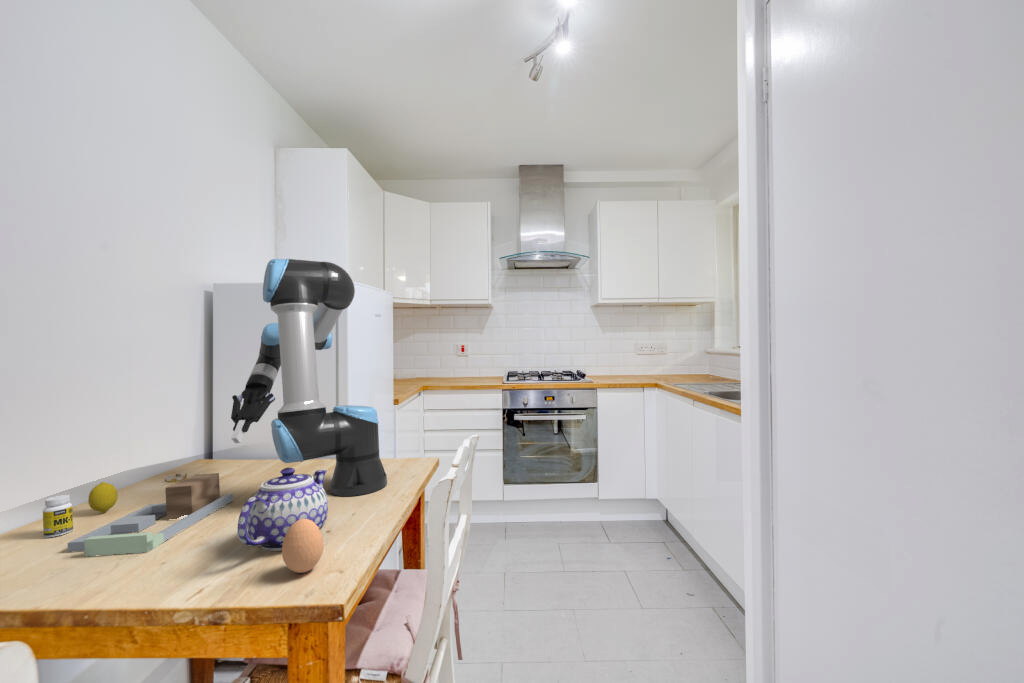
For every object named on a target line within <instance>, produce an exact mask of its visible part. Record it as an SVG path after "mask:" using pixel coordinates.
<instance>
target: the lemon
mask: <svg viewBox="0 0 1024 683" xmlns="http://www.w3.org/2000/svg"><path fill="white" fill-rule="evenodd" d="M117 500H118V491H117V488H116V487H115V485H114V484H111V483H108V482H105V481H102V482H100V483H98V484H97V485H95V486H94V487H93V488H92V489H91V490H90V492H89V495H88V505H89V507H90V509H91V510H93V511H95V512H99V513H101V514H106V513H107V512H108V510H110V509H112V507H114V506H115V505H116V503H117Z"/></svg>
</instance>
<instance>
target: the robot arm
mask: <svg viewBox="0 0 1024 683" xmlns="http://www.w3.org/2000/svg"><path fill="white" fill-rule="evenodd" d="M263 276H264V277H263V285H262V299H263V301H264V302H266V303H267V304H268V303H270V310H271V311H272V312H273V313H274V314H275V315H276V316H277V322H271V323H268V324H266V325H265V326H264V327H263V329H262V332H261V336H260V347H259V352H258V353H259V354H258V356H257V360H256V362H255V364H254V367H253V368H252V371H251V372H250V375H249V377H248V378H247V381H246V384H245V388H244V390H243V391H241V393H240V394H239V395H236V394H234V395H232V399H233V403H232V409H231V414H230V415H231V416H230V419H231V420H232V422H233V423H234V426H233V428H232V431H233V433H232V436H231V438H230V439H231V440H232V441H233V442H234V444H241V442H242V439H243V437H244V436H245V435H244V434H245V433H247V432H248V431H249V429H250V426H251V424H253V423H259V421H260V420H261V418H262V417H263V415H265V412H266V411H267V410H268V408H269V406H270V405H271V404H272V403H273V402H274V401H276V397H275V396H274V394H273V392H271V390H272V389H273V386H274V382H276V378H277V377H278V376H277V375H278V374H279V370H280V368H281V372H280V373H281V384H282V386H281V387H282V398H283V399H282V401H283V402H282V403H283V405H282V406H281V407H280V408H279V409H278V411H277V418H274V419H272V421H271V423H270V425H271V435H272V440H273V445H274V448H275V451H276V454H277V456H278V457H277V458H279V460H280V461H281V462H282V463H284V464H285V463H286V464H292V463H297V462H300V463H303V462H304V461H310V460H315V459H319V458H320V459H321V458H324V457H331V456H335V465H334V466H335V467H334V469H333V474H332V478H331V481H330V485H329V486H330V493H331V494H332V495H334V496H338V497H353V496H362V495H366V494H371V493H375V492H377V491H379V490H381V489H384V488H385V487H386V486H387V485H388V476H387V473H386V470H385V469H384V466H383V463H382V460H381V457H380V440H379V419H378V418H379V417H378V412H377V409H376V408H374V407H372V406H366V405H335V406H334V407H333V409H332V412H330V411H329V412H327V406H326V405H325V404H324V403H323V402H321V401H320V395H319V394H320V393H319V380H318V368H317V356H316V354H317V353H316V351H322V350H329V349H331V347H332V344H333V334H332V330H333V329H334V327H335V325H336V323H337V322H338V319H339V318H340V316H341V314H342V312H343V311H344V310H346V309H348V308H349V307H350V305H351V304H352V302H353V300H354V297H355V293H356V289H355V284H354V281H353V279H352V278H351V276H350V274H349V273H348V272H347V271H346V270H345V269H344V268H343V267H341V266H339V265H338V264H336V263H334V262H333V263H332V262H329V261H317V260H304V259H293V258H292V259H291V258H273V259H270V260H269V261H268V262H267V264H266V267H265V272H264V275H263ZM242 402H243V403H242Z"/></svg>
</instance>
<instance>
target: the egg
mask: <svg viewBox="0 0 1024 683" xmlns="http://www.w3.org/2000/svg"><path fill="white" fill-rule="evenodd" d="M324 546H325V545H324V537H323V533H322V531H321V529H319V527H318V526H317V525H316V524H315V523H314V522H313V521H311V520H309V519H300V520H298V521H296V522H295V523H294V524H292V525H291V527H290V528H289V530H288V531H287V533H286V535H285V538H284V541H283V546H282V550H281V552H282V560H283V562H284V564H285V565H286V567H287V568H288V569H289V570H291V571H292V572H294V573H297V574H304V573H307V572H309V571H311V570H312V569H313V568H314V567H316V566H317V564H318V563H319V561H320V560H321V557H322V556H323V552H324Z"/></svg>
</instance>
